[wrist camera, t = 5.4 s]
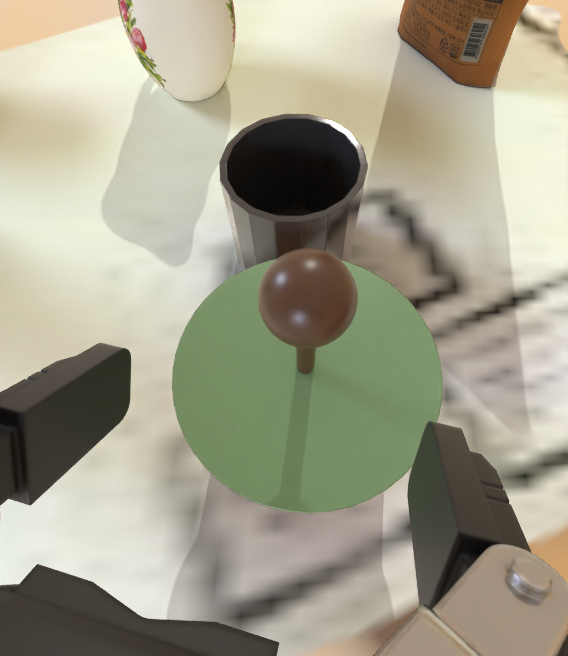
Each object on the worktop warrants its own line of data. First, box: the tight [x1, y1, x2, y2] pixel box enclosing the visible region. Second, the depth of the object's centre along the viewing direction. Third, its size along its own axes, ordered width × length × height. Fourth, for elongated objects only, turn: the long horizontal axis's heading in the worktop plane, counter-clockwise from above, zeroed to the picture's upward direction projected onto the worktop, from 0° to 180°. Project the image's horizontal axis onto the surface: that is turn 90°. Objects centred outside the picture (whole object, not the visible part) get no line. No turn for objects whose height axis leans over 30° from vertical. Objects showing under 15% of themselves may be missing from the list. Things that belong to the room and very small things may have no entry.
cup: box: [219, 114, 368, 271], centre depth 32 cm, size 10×10×10 cm
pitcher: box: [118, 0, 235, 101], centre depth 42 cm, size 11×18×14 cm, turn 27°
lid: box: [172, 248, 442, 513], centre depth 18 cm, size 14×14×10 cm
